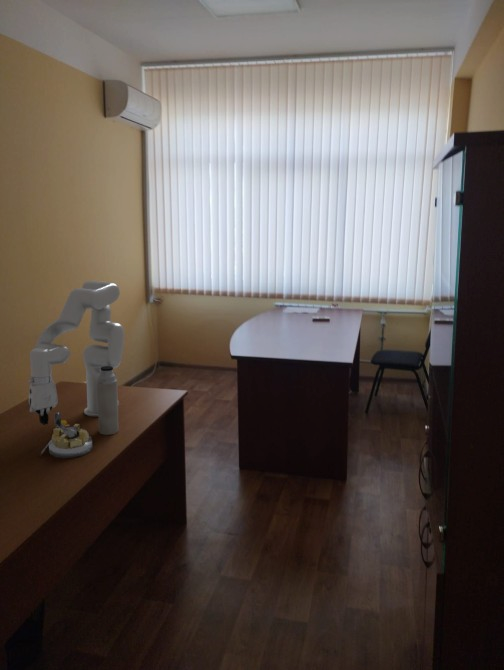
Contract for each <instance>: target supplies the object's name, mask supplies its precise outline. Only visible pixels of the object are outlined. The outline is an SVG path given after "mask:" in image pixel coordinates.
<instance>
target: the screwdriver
mask: <svg viewBox="0 0 504 670" xmlns="http://www.w3.org/2000/svg"><path fill="white" fill-rule="evenodd" d="M61 423H62V424H63V425H64V426H65V425H68V421H67V420H65V419H64V420H63V419H61ZM55 428H58V427H57V426H55ZM52 435H54V431H52V433H51V436H52ZM50 440H52V438H51V439H50ZM47 448H49V442H48V443H47V444H46V446H45V447H44V448H43V449H42V451H40V454H39V456H42V455H43V454H44V452H45V451H46V450H47Z"/></svg>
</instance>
